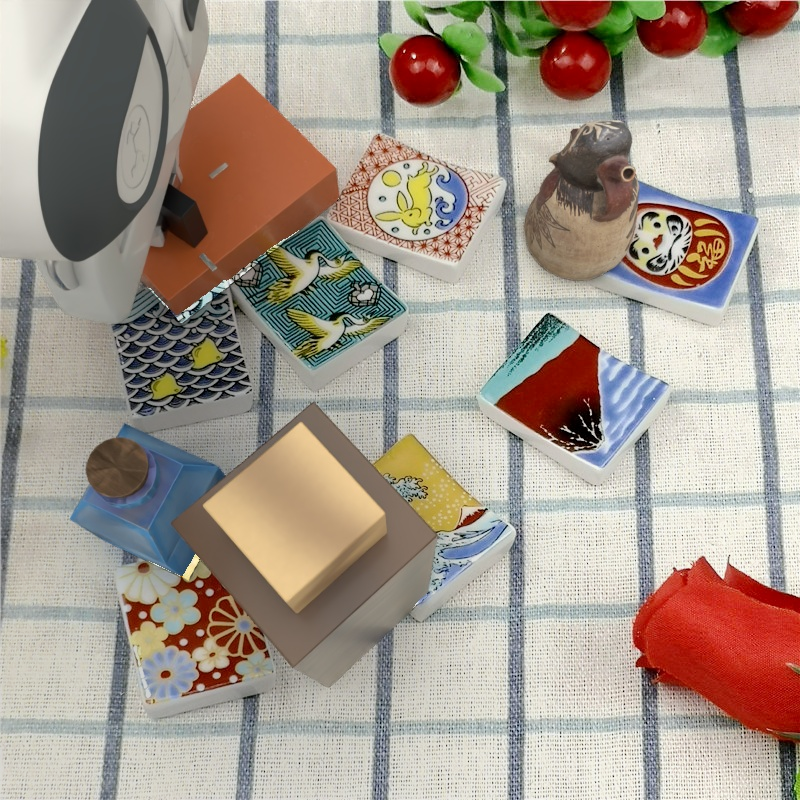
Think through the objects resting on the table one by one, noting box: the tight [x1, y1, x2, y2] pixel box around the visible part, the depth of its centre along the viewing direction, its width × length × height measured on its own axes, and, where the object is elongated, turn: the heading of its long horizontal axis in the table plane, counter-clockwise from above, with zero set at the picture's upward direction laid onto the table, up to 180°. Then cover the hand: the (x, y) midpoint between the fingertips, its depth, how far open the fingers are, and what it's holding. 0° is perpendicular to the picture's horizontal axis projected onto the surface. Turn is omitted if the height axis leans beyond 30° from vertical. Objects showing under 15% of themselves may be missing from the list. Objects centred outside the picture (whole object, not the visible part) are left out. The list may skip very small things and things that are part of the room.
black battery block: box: [160, 183, 208, 248], centre depth 63 cm, size 6×1×4 cm, turn 54°
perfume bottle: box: [69, 422, 226, 576], centre depth 57 cm, size 6×6×12 cm
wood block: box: [203, 422, 387, 613], centre depth 40 cm, size 5×5×4 cm
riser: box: [171, 401, 439, 689], centre depth 52 cm, size 8×8×20 cm
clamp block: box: [140, 72, 341, 315], centre depth 67 cm, size 16×11×4 cm
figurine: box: [523, 119, 640, 281], centre depth 63 cm, size 7×7×12 cm
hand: (161, 211), depth 64 cm, fingers closed on black battery block, 2 cm apart
